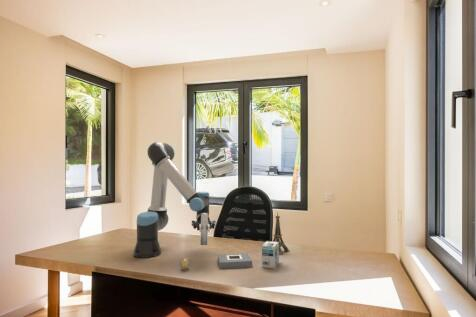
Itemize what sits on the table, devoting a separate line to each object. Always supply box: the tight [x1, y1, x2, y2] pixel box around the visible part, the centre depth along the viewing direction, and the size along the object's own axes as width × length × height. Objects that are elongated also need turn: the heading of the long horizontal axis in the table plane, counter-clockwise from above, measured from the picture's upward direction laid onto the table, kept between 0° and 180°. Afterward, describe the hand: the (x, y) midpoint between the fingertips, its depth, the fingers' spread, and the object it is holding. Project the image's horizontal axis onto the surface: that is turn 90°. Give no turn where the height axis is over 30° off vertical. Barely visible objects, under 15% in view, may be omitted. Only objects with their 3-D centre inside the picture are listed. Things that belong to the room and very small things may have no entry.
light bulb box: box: [261, 240, 280, 269], centre depth 161 cm, size 11×7×11 cm, turn 161°
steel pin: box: [200, 213, 209, 246], centre depth 164 cm, size 4×4×16 cm
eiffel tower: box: [272, 212, 290, 256], centre depth 185 cm, size 11×11×25 cm
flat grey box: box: [217, 252, 253, 270], centre depth 163 cm, size 16×14×3 cm
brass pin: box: [180, 258, 190, 272], centre depth 154 cm, size 4×4×5 cm
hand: (204, 229), depth 159 cm, fingers closed on steel pin, 3 cm apart
